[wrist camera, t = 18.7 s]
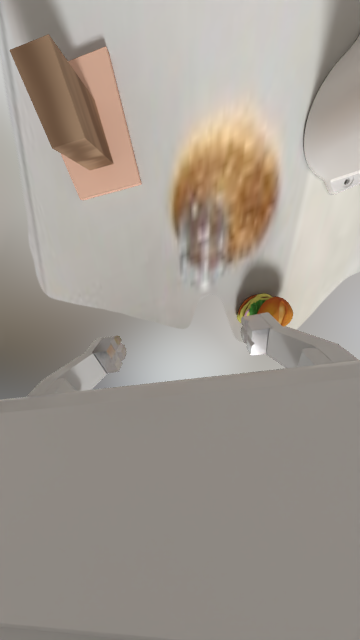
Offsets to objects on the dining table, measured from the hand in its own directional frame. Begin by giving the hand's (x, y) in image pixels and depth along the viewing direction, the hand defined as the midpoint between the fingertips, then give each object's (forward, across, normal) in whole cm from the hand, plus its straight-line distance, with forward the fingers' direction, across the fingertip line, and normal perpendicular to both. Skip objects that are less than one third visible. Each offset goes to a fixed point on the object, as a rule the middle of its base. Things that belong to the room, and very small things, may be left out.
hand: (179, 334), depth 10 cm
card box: (+28, +11, -21) cm, 37 cm away
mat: (+29, +11, -21) cm, 37 cm away
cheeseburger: (+29, -18, +16) cm, 38 cm away
